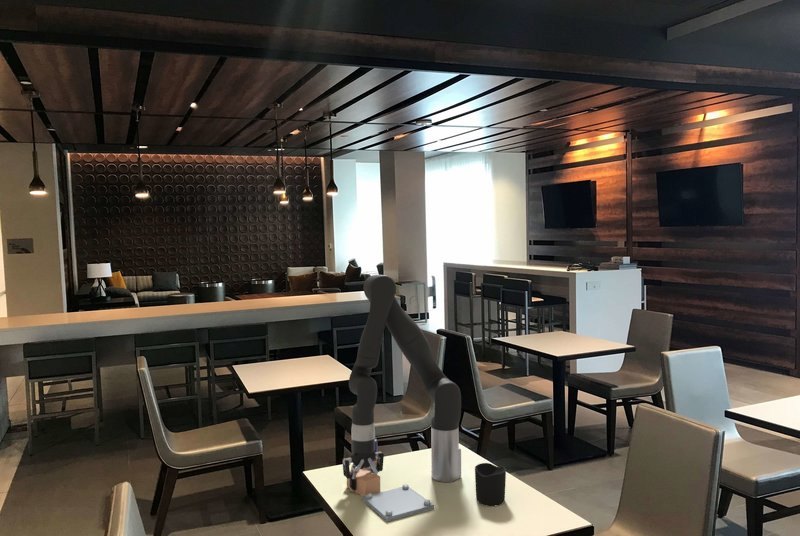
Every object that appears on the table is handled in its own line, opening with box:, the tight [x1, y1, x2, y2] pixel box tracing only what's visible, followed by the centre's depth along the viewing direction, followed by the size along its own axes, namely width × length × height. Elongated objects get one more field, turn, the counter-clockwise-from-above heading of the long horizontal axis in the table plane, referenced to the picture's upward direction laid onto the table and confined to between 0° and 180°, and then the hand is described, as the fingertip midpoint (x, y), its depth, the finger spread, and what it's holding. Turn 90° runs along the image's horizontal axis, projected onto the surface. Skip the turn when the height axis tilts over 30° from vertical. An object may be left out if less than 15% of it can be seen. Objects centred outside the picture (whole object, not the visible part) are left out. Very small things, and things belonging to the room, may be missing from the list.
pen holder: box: [474, 462, 507, 507], centre depth 181 cm, size 9×9×10 cm
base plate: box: [362, 484, 435, 522], centre depth 179 cm, size 16×16×2 cm
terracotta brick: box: [346, 468, 381, 497], centre depth 190 cm, size 10×6×5 cm, turn 40°
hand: (363, 487), depth 190 cm, fingers closed on terracotta brick, 6 cm apart
